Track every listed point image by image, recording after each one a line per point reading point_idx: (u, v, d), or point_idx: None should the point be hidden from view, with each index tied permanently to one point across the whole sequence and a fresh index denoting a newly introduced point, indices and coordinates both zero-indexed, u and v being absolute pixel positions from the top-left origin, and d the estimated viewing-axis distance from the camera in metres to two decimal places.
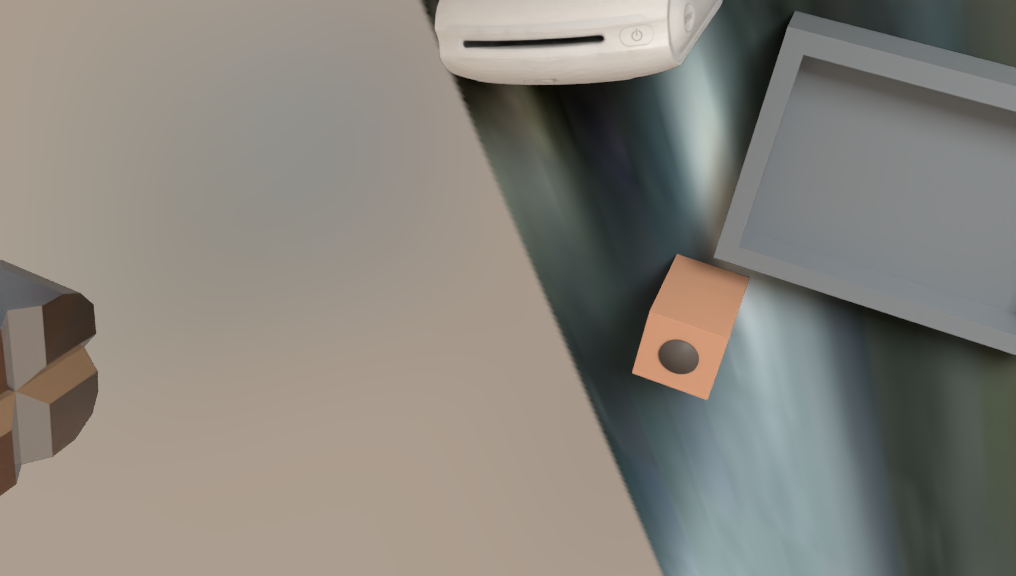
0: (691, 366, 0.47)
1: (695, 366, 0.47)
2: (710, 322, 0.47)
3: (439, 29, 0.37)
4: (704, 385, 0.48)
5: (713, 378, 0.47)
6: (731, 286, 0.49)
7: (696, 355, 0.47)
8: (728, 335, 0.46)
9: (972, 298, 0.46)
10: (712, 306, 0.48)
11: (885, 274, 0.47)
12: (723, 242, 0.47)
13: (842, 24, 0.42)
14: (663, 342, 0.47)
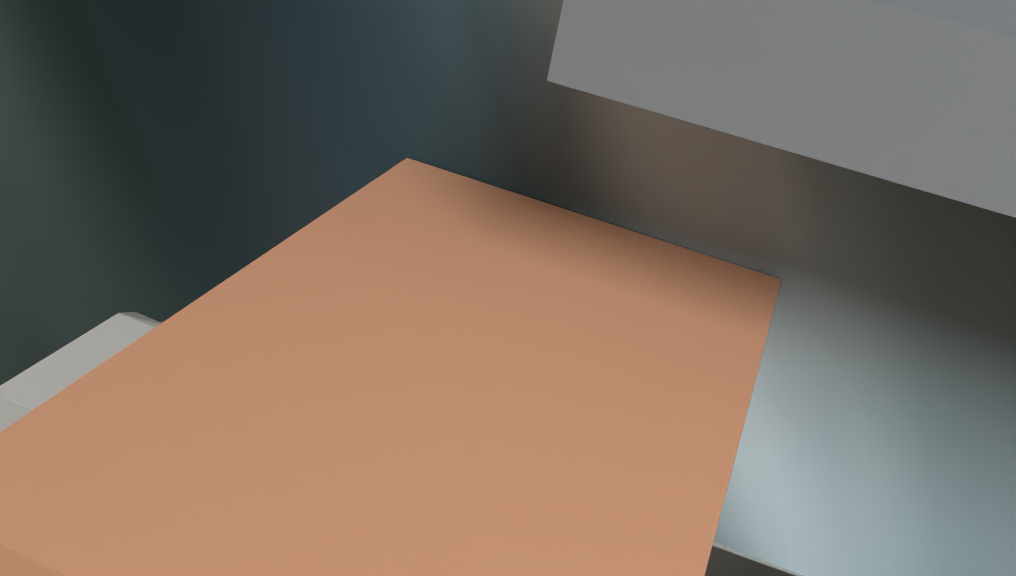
0: None
1: None
2: None
3: None
4: None
5: None
6: (679, 318, 0.08)
7: None
8: None
9: None
10: (531, 456, 0.06)
11: None
12: None
13: None
14: None
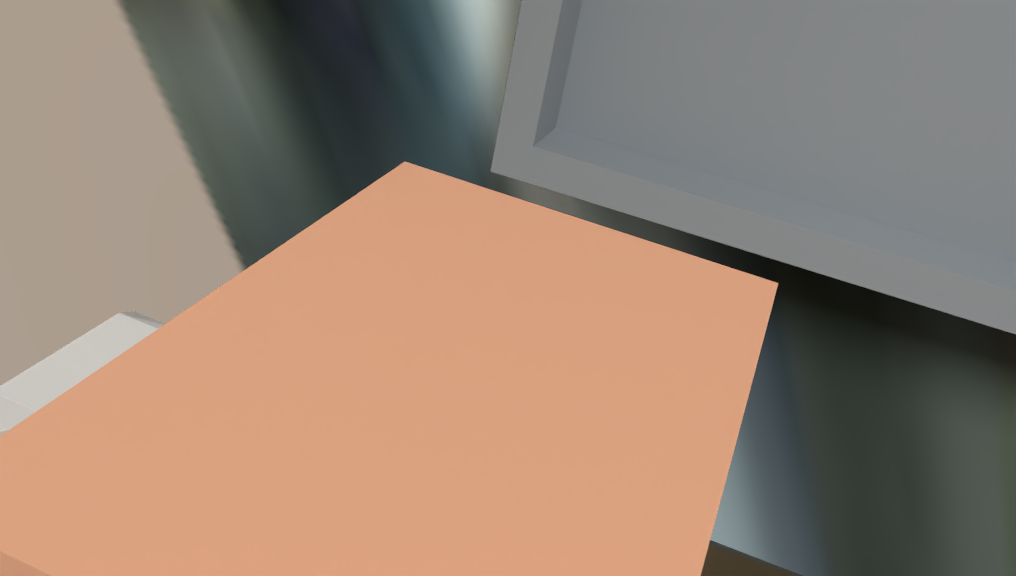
0: None
1: None
2: None
3: None
4: None
5: None
6: (677, 324, 0.08)
7: None
8: None
9: (983, 248, 0.23)
10: (528, 462, 0.06)
11: (815, 205, 0.24)
12: (505, 138, 0.24)
13: None
14: None
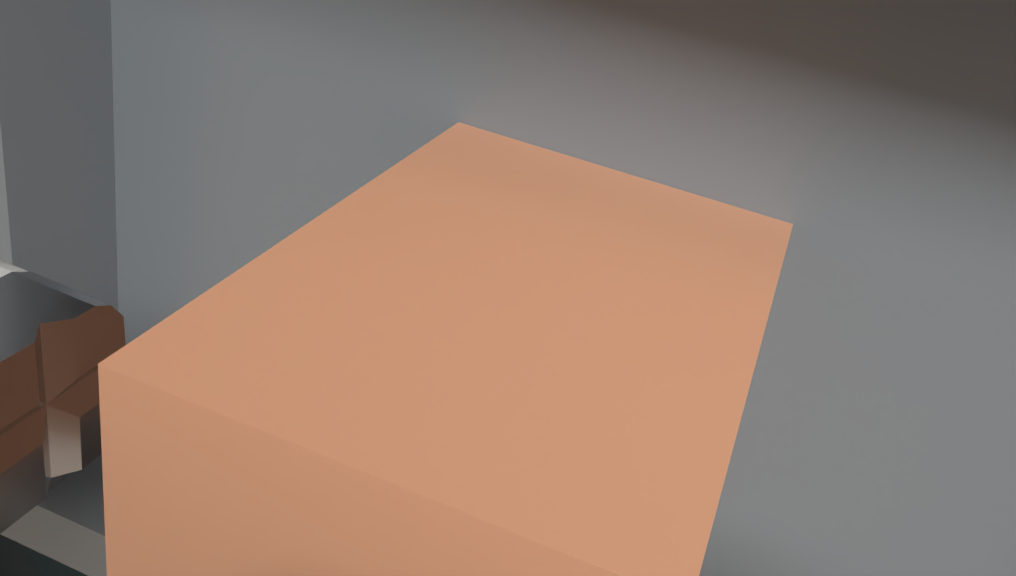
0: None
1: None
2: (557, 459, 0.06)
3: None
4: None
5: None
6: (707, 253, 0.09)
7: None
8: (686, 572, 0.06)
9: None
10: (589, 349, 0.07)
11: None
12: None
13: None
14: None
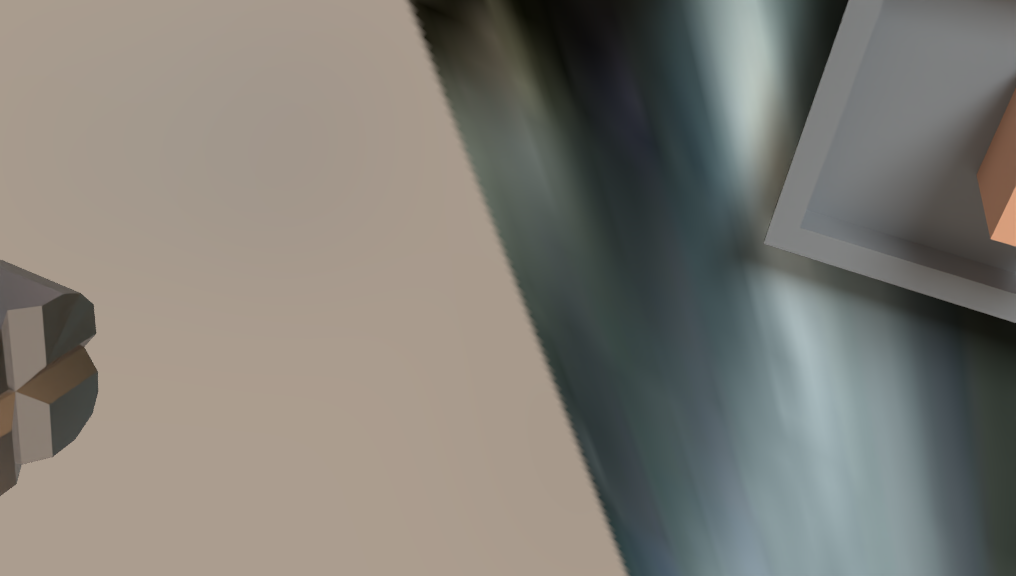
0: None
1: None
2: None
3: None
4: None
5: None
6: None
7: None
8: None
9: None
10: None
11: (1002, 270, 0.34)
12: (778, 221, 0.34)
13: None
14: None
